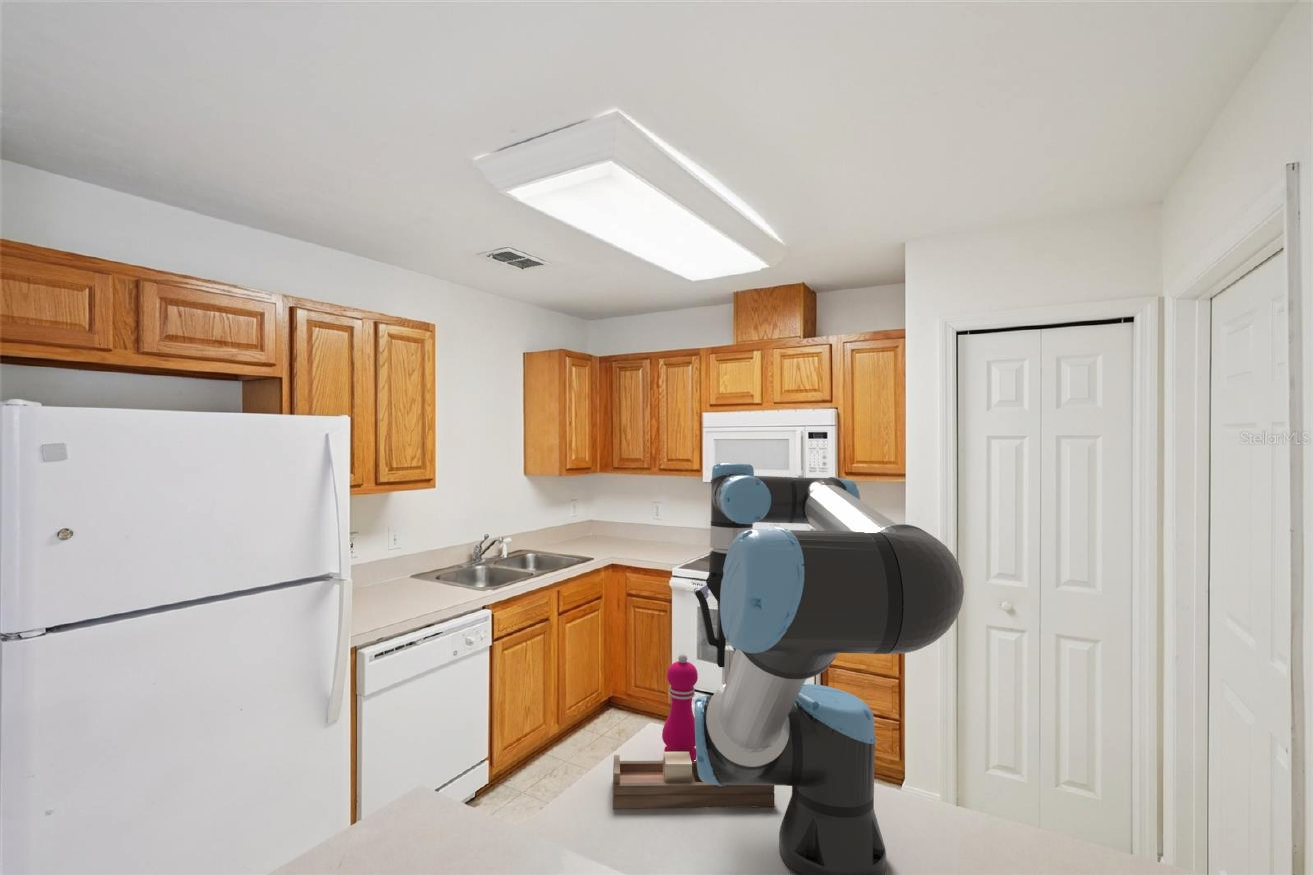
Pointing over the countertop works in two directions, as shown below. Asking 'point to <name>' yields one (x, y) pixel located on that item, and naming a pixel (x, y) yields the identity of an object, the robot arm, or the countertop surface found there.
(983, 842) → the countertop surface
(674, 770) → the birch block
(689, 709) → the pepper mill
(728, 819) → the countertop surface
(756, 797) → the channel
